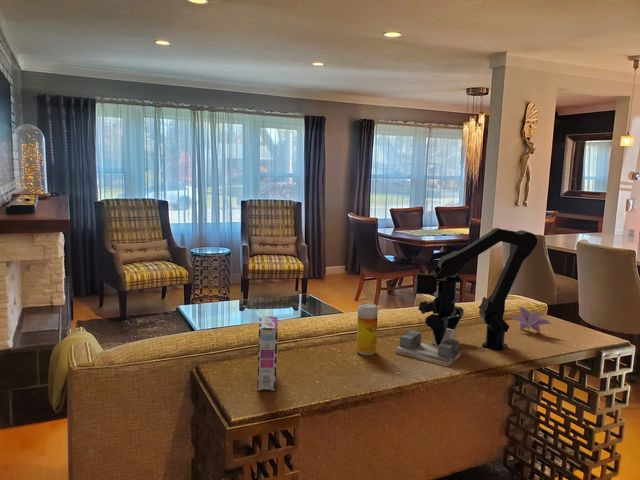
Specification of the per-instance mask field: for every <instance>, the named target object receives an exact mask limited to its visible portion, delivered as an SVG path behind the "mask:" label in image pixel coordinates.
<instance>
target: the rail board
mask: <svg viewBox="0 0 640 480" xmlns="http://www.w3.org/2000/svg"><path fill="white" fill-rule="evenodd" d="M395 354H396V355H400V356H403V357H408V358H413V359H416V360H419V361H422V362H428V363H432V364H435V363H436V364H435V365H439V366H444V367H448V366H450V365H451V364H452V363H454V362H455V361H456V360H457V359H458V358H460V357H461V356H462V351H460V340H458V339H455V340H453V339H447V340H446V341H444V342H443V343H441V344H440V345H433V344H429V343H424V342H422V332H421V331H420V332H419V331H414V330H410V331H408V332H406V333H404V334H403V335H401V336H400V338H399V346H398V347H396V350H395ZM459 356H460V357H459ZM454 360H455V361H454Z"/></svg>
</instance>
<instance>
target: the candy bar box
mask: <svg viewBox="0 0 640 480" xmlns="http://www.w3.org/2000/svg"><path fill="white" fill-rule="evenodd" d="M278 321H279V320H278V317H277V316H260V317H259V322H258V349H257V350H258V351H257V391H258V392H275V391H276V390H277V379H278V378H277V377H278V376H277V375H278V372H277V371H278V348H279V347H278V342H279V341H278V339H279V338H278V337H279V335H278V332H279V331H278V328H279V327H278V326H279V325H278Z"/></svg>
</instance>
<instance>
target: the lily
mask: <svg viewBox="0 0 640 480" xmlns="http://www.w3.org/2000/svg"><path fill="white" fill-rule="evenodd" d="M519 314H520V316H513V317H511V319H512V320H515V321H517V322H519V329H520V330H523V329H527V328H528V329H527V337H529V336H530V335H529V333H530V329H532V330H534V331H536V332H537V333H541V329H540V326H544V325H551V324H552V321H549V320H548V319H546V318H543V317H541V314H542V313H541V311H536V312H534V313H531V311H530V310H528V308H527V309H526V308H525V307H523V306H519Z"/></svg>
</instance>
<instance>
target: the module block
mask: <svg viewBox="0 0 640 480" xmlns="http://www.w3.org/2000/svg"><path fill="white" fill-rule="evenodd" d="M456 332H457V331H456V329H455V330H452V329H448V328H447V330H446V332H445V334H444V337H443V339H442V342H441V343H443V342H444V341H446V340H447V339H453V340H456ZM433 344H435V345H434V346H438V345H437V344H436V341H435V337H434V333H433V332H432V341H431V345H433Z"/></svg>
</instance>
